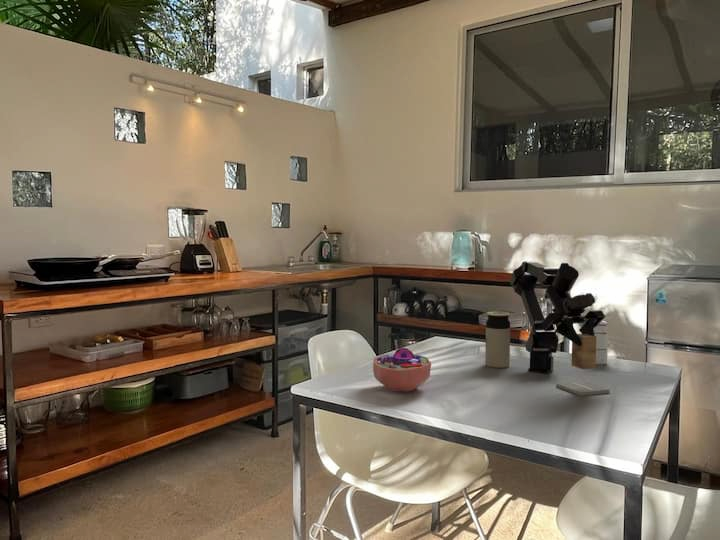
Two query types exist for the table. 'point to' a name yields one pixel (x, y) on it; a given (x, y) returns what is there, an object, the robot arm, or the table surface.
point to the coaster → (582, 388)
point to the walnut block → (584, 352)
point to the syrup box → (601, 342)
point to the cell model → (402, 370)
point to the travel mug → (497, 340)
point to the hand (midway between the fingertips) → (587, 344)
